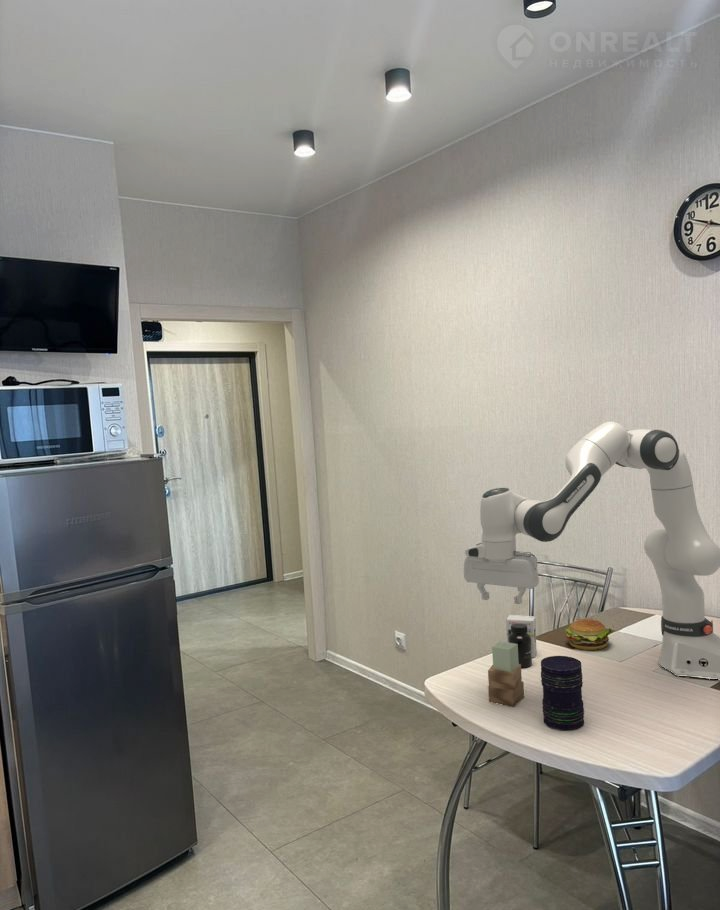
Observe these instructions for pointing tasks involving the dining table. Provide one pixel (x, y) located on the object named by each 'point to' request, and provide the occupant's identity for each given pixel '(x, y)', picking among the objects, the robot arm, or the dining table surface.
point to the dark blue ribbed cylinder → (562, 693)
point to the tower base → (506, 695)
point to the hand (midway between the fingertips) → (501, 601)
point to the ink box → (531, 628)
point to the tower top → (504, 678)
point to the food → (587, 634)
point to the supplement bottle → (521, 644)
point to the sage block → (505, 656)
